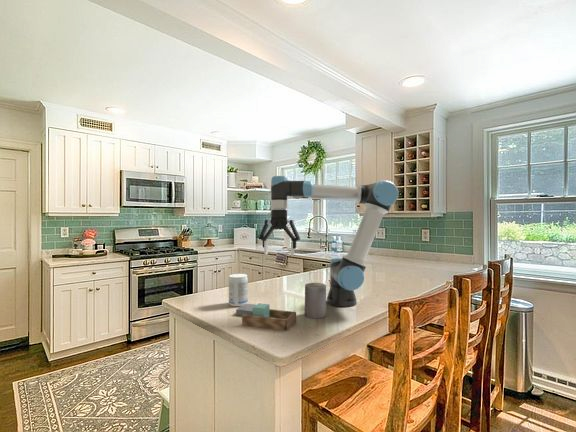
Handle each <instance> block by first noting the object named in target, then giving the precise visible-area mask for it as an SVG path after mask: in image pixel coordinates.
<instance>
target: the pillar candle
mask: <svg viewBox="0 0 576 432" xmlns="http://www.w3.org/2000/svg"><path fill="white" fill-rule="evenodd" d="M326 315H327V285H326V284H325V283H322V282H316V281H315V282H308V283H305V284H304V316H305V317H306V318H309V319H322V318H325V317H326Z"/></svg>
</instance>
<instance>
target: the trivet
mask: <svg viewBox="0 0 576 432" xmlns="http://www.w3.org/2000/svg"><path fill="white" fill-rule="evenodd" d="M255 305H256V304H252V303H247V304H244V305H243V306H239V307H237V308H236V309H235V315H236V316H241V317H242V315H243V314H245V315H253V307H254V306H255Z"/></svg>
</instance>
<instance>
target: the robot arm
mask: <svg viewBox="0 0 576 432" xmlns="http://www.w3.org/2000/svg"><path fill="white" fill-rule="evenodd" d="M270 181H271V182H270V197H271V198H270V199H271V202H270V209H271V210H270V220H269V219H264V224H263V226H262V229H261V231H260V234H259V235H258V239H259V240H261V241H262V248H264V249H263V250H264V251H263V252H264V253H263V255H264V256H266V255H268V254H269V241H268V238H269V237H270V236H271V234H272V233H273V231H275V230H283V231H285V233H286V234H287V236H288V237H289V238H290V239H291V241H290V256H291V257H293V256H295V249H297V242H298V241H300V240H301V237H300V234H299V232H298V229H297V227H296V226H295V221H294V219H289V220H288V210H287V209H288V198H293V199H296V200H297V199H298V200H300V199H303V200H304V199H307V200H324V201H325V200H328V201H340V202H341V201H342V202H355V203H356V204H360V205H361V204H362V205H365V208H366V209H365V211H364V213H363V216H362V218H361V220H360V223H359V225H358V228H357V230H356V232H355V235H354V237H353V239H352V242H351V245H350V248H349V249H348V251H347V254H345V255H343V256H342V258H339V257H337V258H335V257H334V258H331V259H330V261H329V265H330V266H329V272H330V273H329V274H330V275H329V277H330V279H329V282H330V285H329V289H328V292H327V295H326V304H328V305H330V306H335V307H343V308H345V307H346V308H347V307H353V306H355V305H357V297H356V293H355V290H359V288H361V286H363V284H364V282H365V270H366V268H367V264H366V259H367V256H368V253H369V251H370V249H371V247H372V244H373V241H374V239H375V237H376V234H377V232H378V230H379V227H380V225H381V222H382V220H383V218H384V215H386V214H388V213H389V212H390V209H391V206H392V205H394V204H395V203H396V201H398V198H399V195H400V194H399V193H400V192H399V189H398V187H397V185H396V184H395V183H394V182H393V181H390V180H387V179H386V180H378V181H377V182H373V183H369V184H358V185H357V186H347V185H332V184H331V185H329V184H313V183H314V182H313V181H311V180H290V179H289V180H288V176H286V175H274V176H272V177H271V179H270ZM270 225H271V226H270ZM287 225H289V226H290V229H291V230H290V229H289V227H288V226H287ZM269 226H270V228H269V229H268V227H269ZM291 231H292V232H291Z"/></svg>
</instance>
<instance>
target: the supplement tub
mask: <svg viewBox="0 0 576 432" xmlns="http://www.w3.org/2000/svg"><path fill="white" fill-rule="evenodd" d="M248 280H249V279H248V275H247V273H234V274H230V275H228V305H229V306H231V307H237V308H239V307H241V306H243V305H244V304H249V288H248V287H249V286H248V284H249V282H248Z"/></svg>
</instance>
